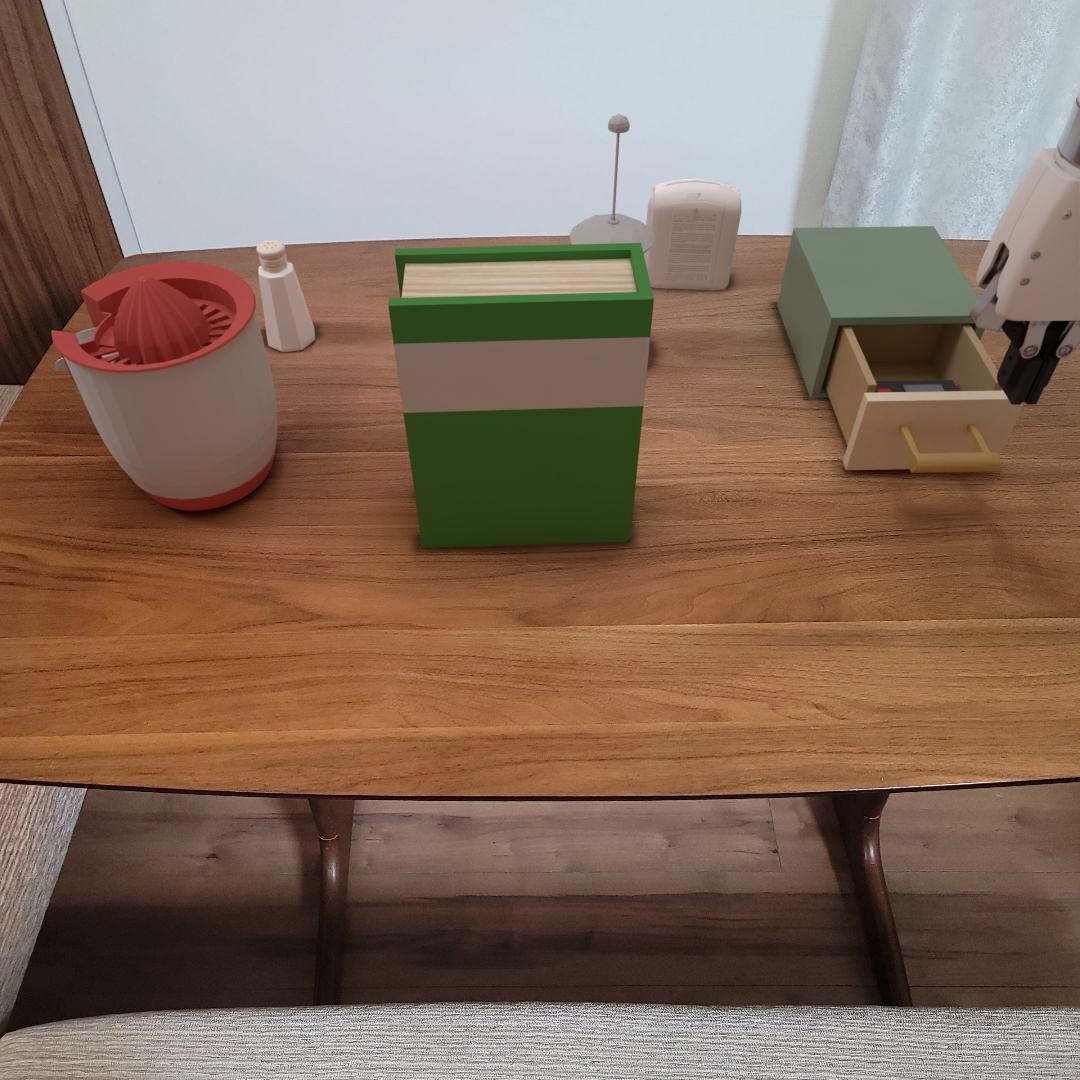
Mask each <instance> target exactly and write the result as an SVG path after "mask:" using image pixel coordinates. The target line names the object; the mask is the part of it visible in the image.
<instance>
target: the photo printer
mask: <svg viewBox="0 0 1080 1080" xmlns="http://www.w3.org/2000/svg"><path fill="white" fill-rule="evenodd" d="M741 195H742V194H741V192H740V188H739V187H737V186H735V185H733V184H731V183H727V182H723V181H720V180H715V179H709V178H695V177H693V178H690V177H689V178H678V179H671V180H667V181H662V182H659V183H657V184H654V185H653V188H652V193H651V195H650V196H649V199H648V202H647V209H646V211H647V212H646V222H645V225H646V226H648V227H649V228H650V229H652V231H653V234H654V236H655V240H654V243H653V245H652V247H651V248H650V249H649V250H647V251H646V252H645V253H644V258H645V262H646V266H647V271H648V275H649V279H650V284H651V288H655V289H669V290H694V291H695V290H698V291H701V290H702V291H721V290H726V288H727V286H728V285H729V283H730V278H731V274H732V273H731V272H732V267H733V261H734V255H735V251H736V245H737V239H738V234H739V227H740V222H741V218H742V217H741V216H742V198H741Z"/></svg>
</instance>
